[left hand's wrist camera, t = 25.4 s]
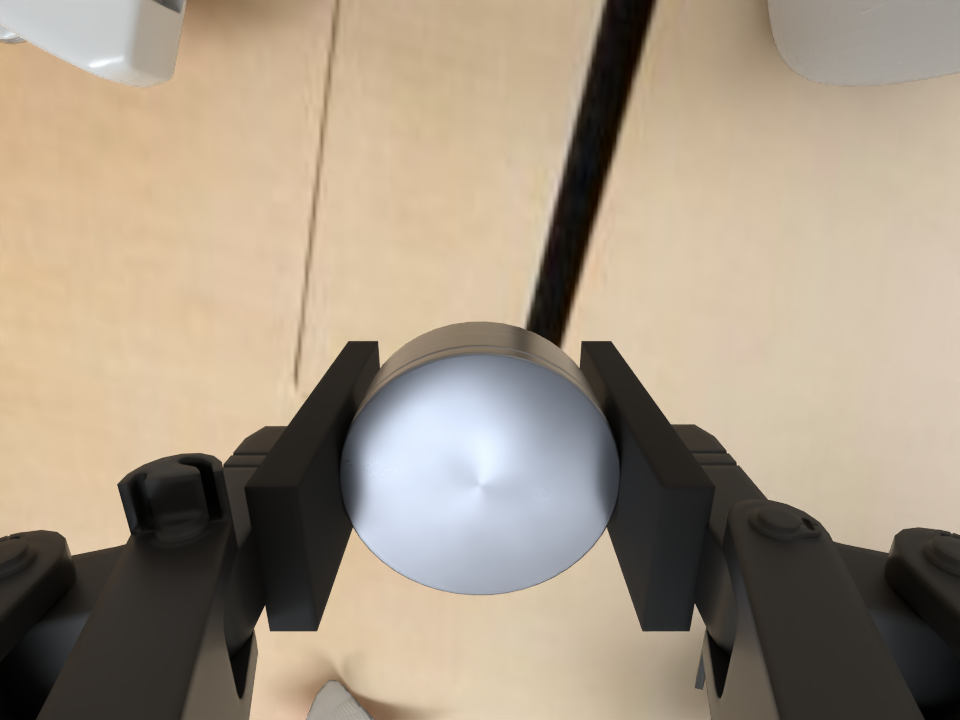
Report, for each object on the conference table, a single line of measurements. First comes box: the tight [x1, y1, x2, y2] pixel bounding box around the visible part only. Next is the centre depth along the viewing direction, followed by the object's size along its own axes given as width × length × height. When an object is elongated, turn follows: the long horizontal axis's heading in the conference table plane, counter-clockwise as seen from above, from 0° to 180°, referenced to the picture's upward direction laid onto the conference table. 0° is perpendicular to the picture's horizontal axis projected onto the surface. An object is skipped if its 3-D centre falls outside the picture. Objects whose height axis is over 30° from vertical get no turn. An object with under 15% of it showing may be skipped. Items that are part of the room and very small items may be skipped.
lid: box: [339, 322, 621, 595], centre depth 11 cm, size 5×5×2 cm
